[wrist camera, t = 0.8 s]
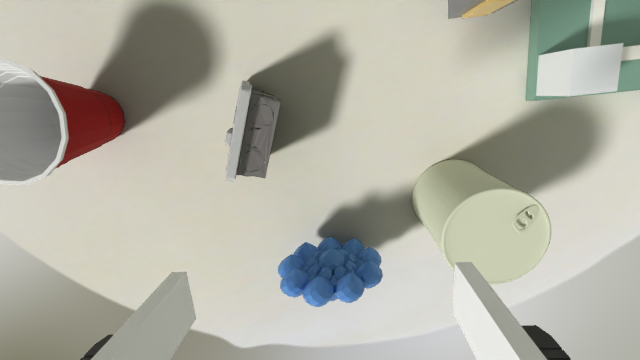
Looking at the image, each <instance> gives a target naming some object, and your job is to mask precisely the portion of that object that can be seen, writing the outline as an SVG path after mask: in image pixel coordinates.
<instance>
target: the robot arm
mask: <svg viewBox="0 0 640 360" xmlns="http://www.w3.org/2000/svg"><path fill="white" fill-rule="evenodd" d="M453 314H454V316H455V318H456V320H457V322H458V324H459V326H460V328H461V330H462V332H463V333H464V335H465V337H466V339H467V341H468V343H469V345H470V347H471V349H472V351H473V353H474V355H475V357H476V359H477V360H570V357H569V356H568V355H567V354H566V353H565V351H564V350H562V349H561V347H560V346H559V344H557V342H556V341H555V340H554V339H553V338H552V337H551V335H549V334H548V333H546V332H545V331H543V330H542V329H540V328H539V327H537V326H536V325H534V326H521V325H520V324H519V323H518V321H517V320H516V319H515V317H514V316H513V315H512V314H511V312H510V311H509V310H508V308H507V307H506V306H505V304H504V303H503V302H502V301H501V299H500V298H499V297H498V295H497V294H496V293H495V291H494V290H493V289H492V288H491V286H490V285H489V284H488V282H487V281H486V280H485V279H484V277H483V276H482V275H481V273H480V272H479V271H478V270H477V268H476V267H475V266H474V264H473V263H472V262H455V269H454V293H453ZM195 319H196V315H195V311H194V306H193V301H192V297H191V292H190V287H189V282H188V278H187V273H186V272H172V273H171V274H170V275H169V276H168V277H167V278H166V279H165V280H164V281H163V282H162V283H161V285H160V286H159V287H158V288H157V289H156V290H155V291H154V292H153V293H152V294H151V295H150V296H149V297H148V299H147V300H146V301H145V302H144V303H143V304H142V305H141V306H140V307H139V308H138V309H137V310H136V311H135V313H134V314H133V315H132V316H131V317H130V318H129V319H128V320H127V321H126V322H125V323H124V324H123V325H122V327H121V328H120V329H119V330H118V331H117V332H116V333H115V334H114V335H108V336H106V337H105V338H104V339H102V340H101V341H99V342H98V343H96V344H95V345H94V346H93V347H92V348H91V349H90V350H89V351H88V352H87V353H86V354H85V355H84V358H81V359H80V360H170V359H171V357H172V356H173V354H174V353H175V351H176V349H177V348H178V346H179V344H180V343H181V341H182V340H183V338H184V337H185V335H186V333H187V332H188V330H189V329H190V327H191V326H192V324H193V323H194V321H195Z"/></svg>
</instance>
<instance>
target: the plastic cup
mask: <svg viewBox="0 0 640 360" xmlns="http://www.w3.org/2000/svg"><path fill="white" fill-rule="evenodd" d="M124 123H125V121H124V113H123V111H122V109H121V107H120V105H119V104H118V103H117V102H116V101H115V100H114V99H113V98H112V97H110V96H108V95H106V94H104V93H101V92H99V91H95V90H90V89H85V88H83V87H81V86H77V85H73V84H69V83H65V82H61V81H57V80H53V79H49V78H45V77H41V76H39V75H38V74H37V73H36V72H34V71H32V70H30V69H28V68H26V67H24V66H21V65H19V64H17V63H15V62H13V61H10V60H8V59H0V183H1V184H11V185H27V184H29V183H32V182H34V181H37V180H39V179H42V178H44V177H46V176H48V175H49V174H50V173H51V172H52V171H53V170H54V169H55V168H58V167H59V166H60V165H62V164H65V163H67V162H68V161H70V160H72V159H74V158H76V157H78V156H80V155H83V154H85V153H87V152H89V151H91V150H94V149H96V148H98V147H100V146H102V145H103V144H105V143H107V142H109V141H111V140H113V139H115V138H116V137H117V136H118V135H119V134H120V133H121V132H122V131H123V127H124Z"/></svg>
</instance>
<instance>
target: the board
mask: <svg viewBox="0 0 640 360" xmlns="http://www.w3.org/2000/svg"><path fill="white" fill-rule="evenodd" d="M619 43H623V50H622V57H621V65H620V72H619V80H618V87H617V91H615V92H624V91H634V90H640V0H532V3H531V19H530V36H529V52H528V69H527V85H526V101H537V100H547V99H556V98H566V97H576V96H536V88H537V73H538V59H539V55H543V54H549V53H554V52H559V51H565V50H570V49H576V48H585V47H593V46H602V45H611V44H619ZM606 93H614V92H606ZM596 94H605V93H596ZM586 95H595V94H586ZM577 96H585V95H577Z"/></svg>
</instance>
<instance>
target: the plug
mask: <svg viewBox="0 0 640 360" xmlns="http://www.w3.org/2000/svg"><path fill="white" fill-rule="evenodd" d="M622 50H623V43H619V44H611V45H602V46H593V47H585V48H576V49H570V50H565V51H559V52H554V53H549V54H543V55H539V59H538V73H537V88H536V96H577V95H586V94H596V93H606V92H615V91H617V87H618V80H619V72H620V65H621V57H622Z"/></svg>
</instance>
